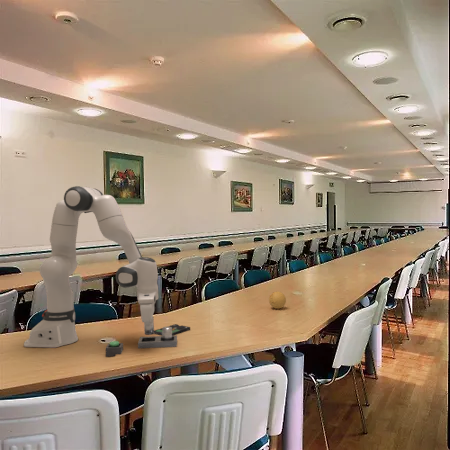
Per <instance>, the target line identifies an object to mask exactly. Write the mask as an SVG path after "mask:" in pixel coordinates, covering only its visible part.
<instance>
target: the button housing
mask: <svg viewBox="0 0 450 450" xmlns="http://www.w3.org/2000/svg"><path fill="white" fill-rule="evenodd" d="M123 350H124V342H119V345H118V346H115V347H112V346H110V342H109V343H107V345H106V347H105V357H106V358H107V357H108V358H110V357H116V355H122V353H123Z"/></svg>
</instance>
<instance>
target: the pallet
mask: <svg viewBox="0 0 450 450" xmlns="http://www.w3.org/2000/svg"><path fill="white" fill-rule="evenodd" d="M177 347H178V334H177V335H174V336H172V341H163V336H162V335H155V336H151V335H150V336H140V337H139V339H138V343H137V349H159V348H160V349H161V348H177Z"/></svg>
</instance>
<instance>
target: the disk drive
mask: <svg viewBox="0 0 450 450" xmlns="http://www.w3.org/2000/svg"><path fill="white" fill-rule="evenodd" d="M168 326H169V327H172V336H176V335H177V336H178V335H179V334H182V333H185V332H188V331H189V332H190V331H191V326H185V325H180V324H177V323H176V324H175V323H174V324H171V325H168ZM153 335H156V336H163V327H161V328H157V329H154V334H153Z"/></svg>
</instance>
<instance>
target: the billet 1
mask: <svg viewBox="0 0 450 450" xmlns="http://www.w3.org/2000/svg"><path fill="white" fill-rule="evenodd" d="M143 326H144V327H143V328H144V330H143V331H144V335H146V336H151V335H155V334H154V331H155V321H154V315H153V316H152V319H151V322H150V327H151V328H150V330H146V324H145V322H143Z"/></svg>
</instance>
